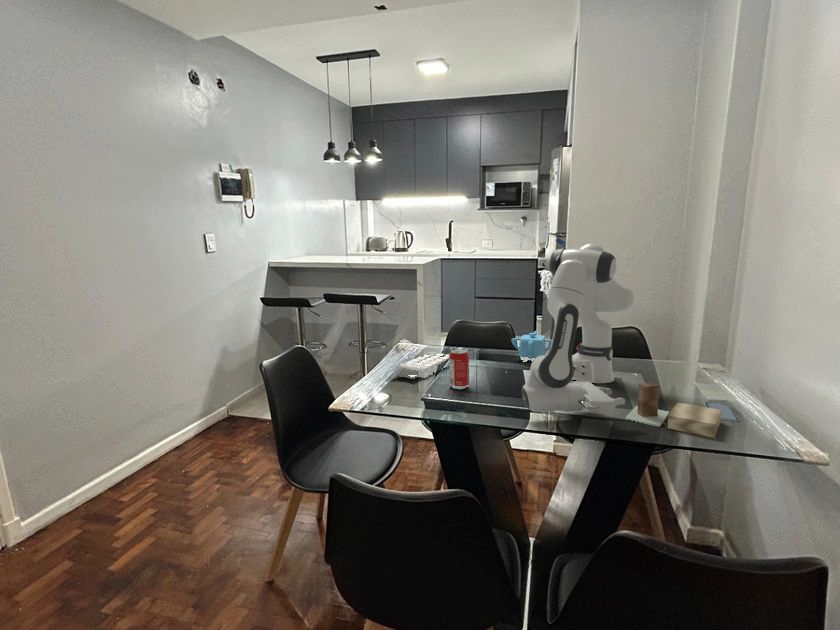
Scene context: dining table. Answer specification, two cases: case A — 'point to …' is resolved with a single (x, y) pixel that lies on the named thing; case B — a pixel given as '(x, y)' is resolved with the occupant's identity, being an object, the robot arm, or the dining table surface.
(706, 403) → the smartphone
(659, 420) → the rubber mat
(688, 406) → the birch block
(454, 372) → the soda can
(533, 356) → the teapot
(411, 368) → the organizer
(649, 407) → the brown wooden upright block
